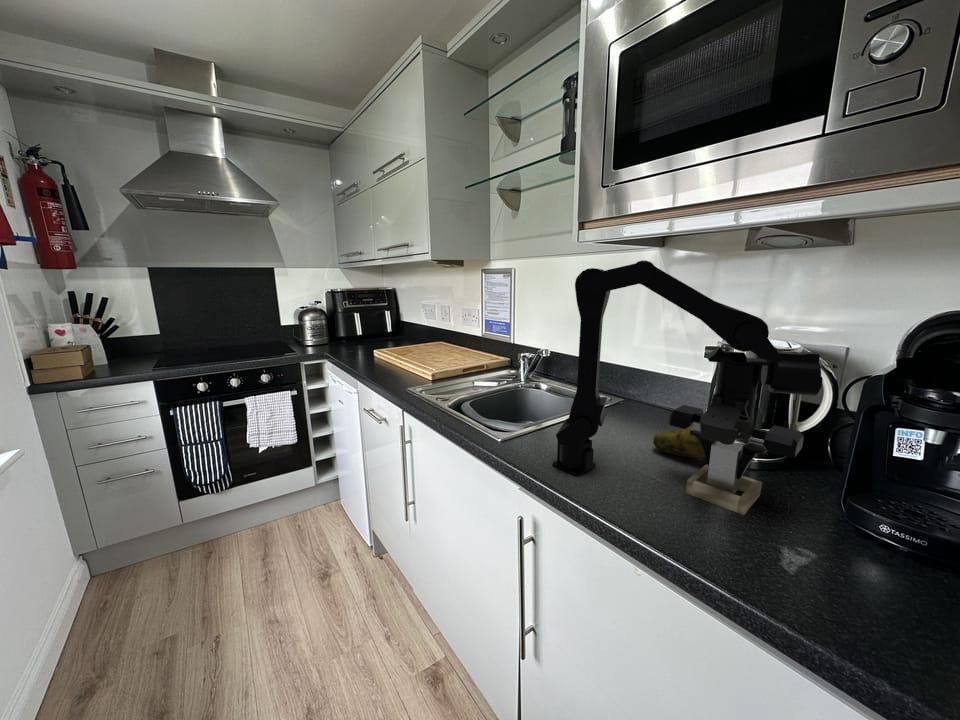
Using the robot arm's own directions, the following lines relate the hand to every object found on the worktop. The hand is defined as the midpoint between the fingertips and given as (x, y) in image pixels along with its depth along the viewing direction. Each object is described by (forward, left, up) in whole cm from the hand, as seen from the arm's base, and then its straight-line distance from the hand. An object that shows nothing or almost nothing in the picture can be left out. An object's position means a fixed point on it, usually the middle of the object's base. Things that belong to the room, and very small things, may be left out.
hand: (724, 473), depth 68 cm
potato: (-10, +10, -4) cm, 15 cm away
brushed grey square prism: (0, 0, -3) cm, 3 cm away
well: (0, 0, -4) cm, 4 cm away
